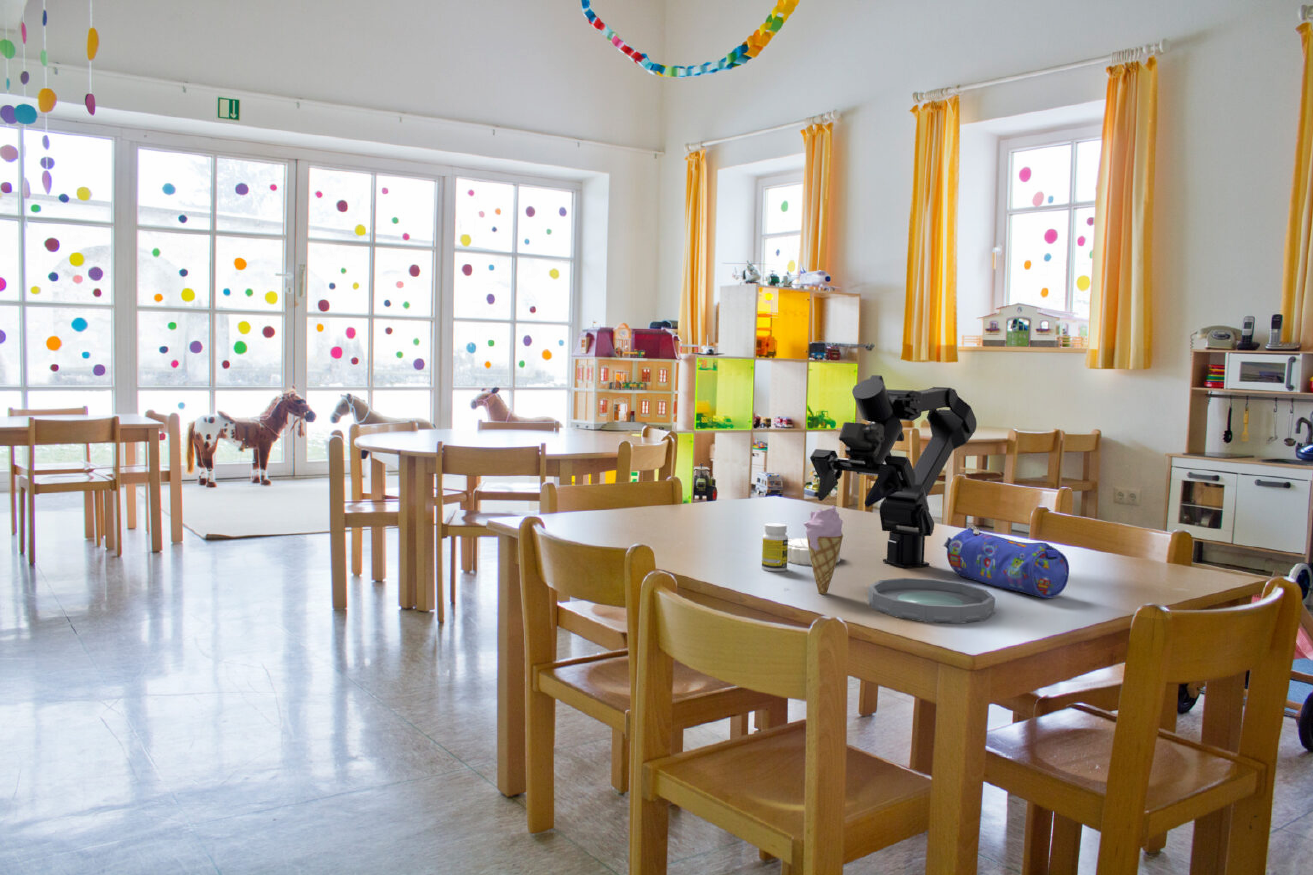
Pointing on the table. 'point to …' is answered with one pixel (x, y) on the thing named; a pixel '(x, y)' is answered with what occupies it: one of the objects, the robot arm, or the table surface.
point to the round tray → (931, 600)
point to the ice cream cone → (824, 544)
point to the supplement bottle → (775, 547)
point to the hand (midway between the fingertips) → (842, 502)
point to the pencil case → (1008, 563)
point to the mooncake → (800, 551)
